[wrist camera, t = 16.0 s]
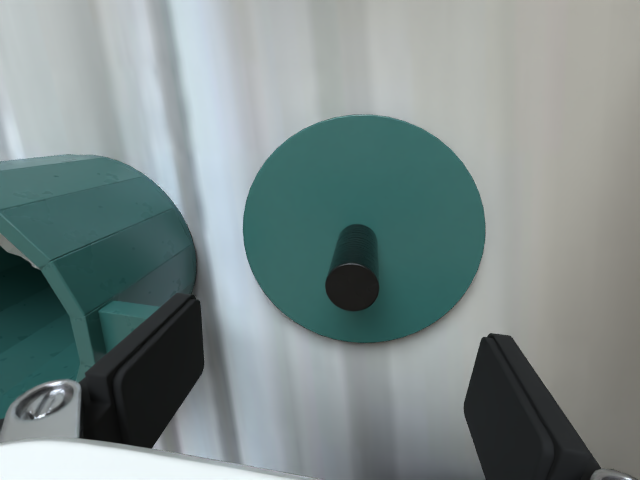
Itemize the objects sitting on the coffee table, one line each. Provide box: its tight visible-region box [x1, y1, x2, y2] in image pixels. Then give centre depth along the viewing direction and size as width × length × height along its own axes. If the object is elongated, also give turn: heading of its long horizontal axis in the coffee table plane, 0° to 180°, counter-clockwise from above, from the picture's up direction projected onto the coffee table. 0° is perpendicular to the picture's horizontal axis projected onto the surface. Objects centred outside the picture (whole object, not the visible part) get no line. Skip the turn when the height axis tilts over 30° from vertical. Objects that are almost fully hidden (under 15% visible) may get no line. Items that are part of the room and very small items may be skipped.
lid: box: [243, 115, 485, 343], centre depth 18 cm, size 15×15×7 cm
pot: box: [0, 154, 196, 419], centre depth 20 cm, size 14×19×10 cm
